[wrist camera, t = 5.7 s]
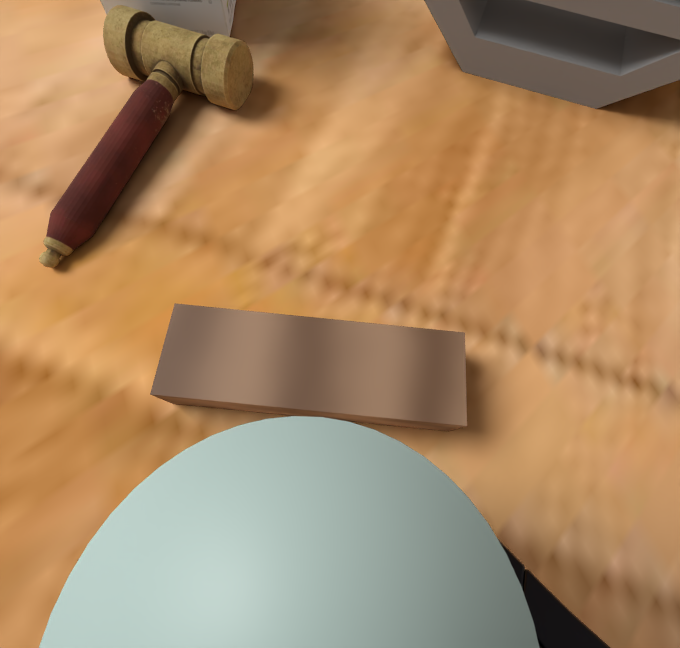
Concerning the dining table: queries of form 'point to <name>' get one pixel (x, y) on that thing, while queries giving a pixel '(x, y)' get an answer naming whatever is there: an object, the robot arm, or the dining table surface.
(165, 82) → the gavel
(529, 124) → the dining table surface
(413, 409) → the brown wooden block
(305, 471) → the post
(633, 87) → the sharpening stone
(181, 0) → the tea box
